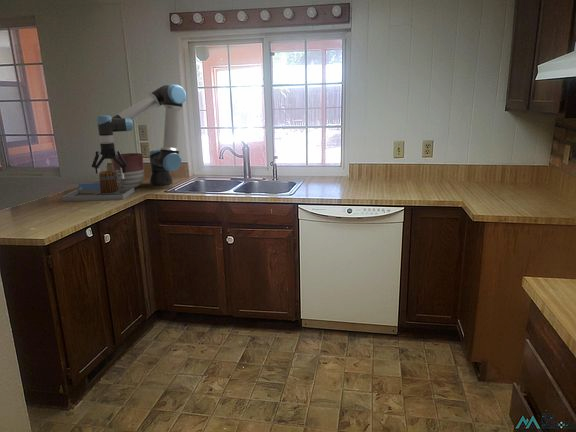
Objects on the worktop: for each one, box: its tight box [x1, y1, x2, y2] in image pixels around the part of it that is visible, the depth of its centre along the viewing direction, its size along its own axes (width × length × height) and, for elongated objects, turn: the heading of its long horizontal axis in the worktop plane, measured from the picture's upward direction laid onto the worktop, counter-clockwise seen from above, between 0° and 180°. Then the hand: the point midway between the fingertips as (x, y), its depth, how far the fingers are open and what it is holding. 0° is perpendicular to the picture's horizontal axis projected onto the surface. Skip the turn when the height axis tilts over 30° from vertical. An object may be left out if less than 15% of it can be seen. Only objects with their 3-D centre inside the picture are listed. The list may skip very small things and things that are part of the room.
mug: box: [98, 170, 124, 195], centre depth 254 cm, size 16×11×15 cm
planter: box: [110, 152, 145, 189], centre depth 275 cm, size 20×20×21 cm
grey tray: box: [60, 182, 135, 202], centre depth 255 cm, size 35×22×6 cm, turn 92°
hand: (111, 178), depth 253 cm, fingers open, 13 cm apart
